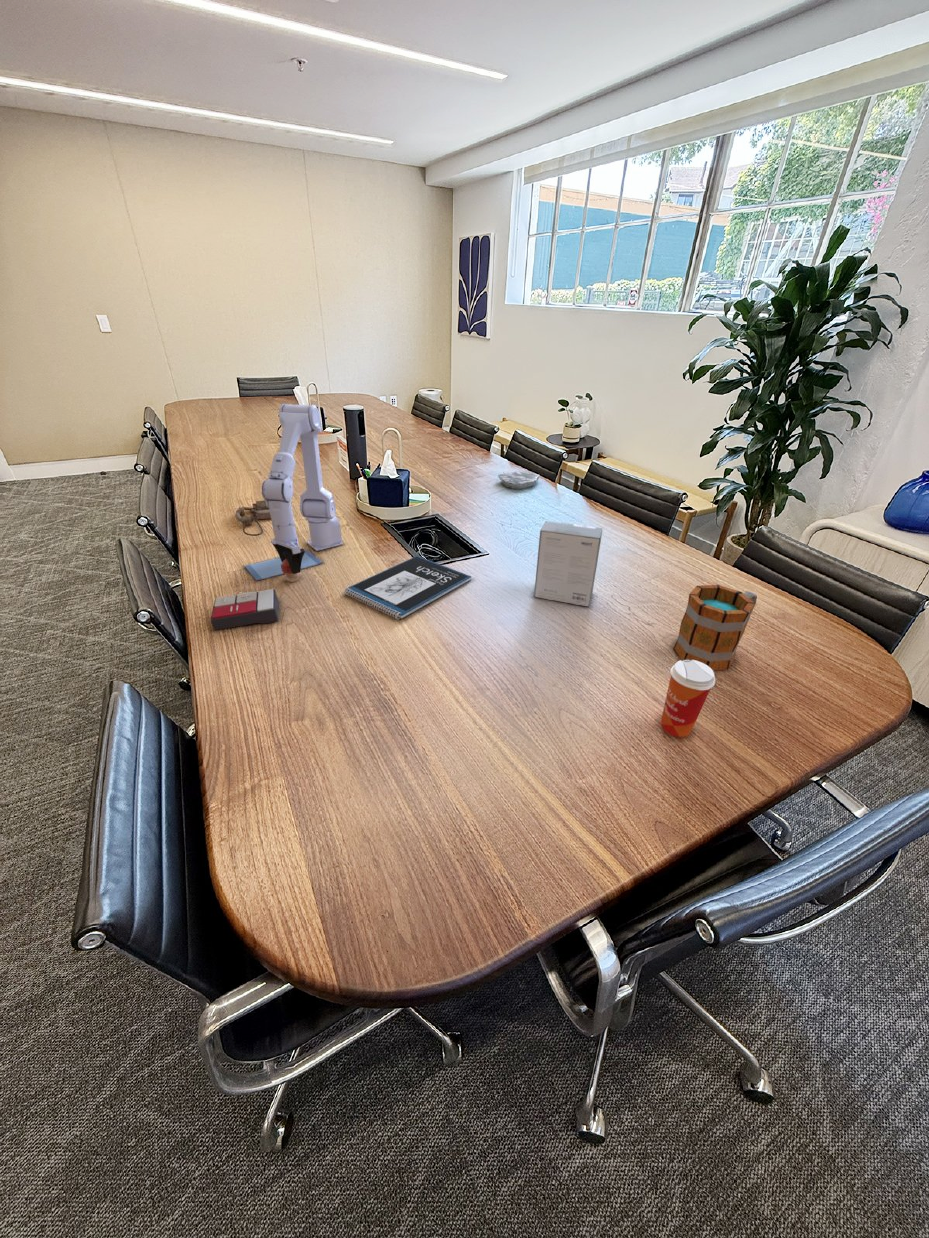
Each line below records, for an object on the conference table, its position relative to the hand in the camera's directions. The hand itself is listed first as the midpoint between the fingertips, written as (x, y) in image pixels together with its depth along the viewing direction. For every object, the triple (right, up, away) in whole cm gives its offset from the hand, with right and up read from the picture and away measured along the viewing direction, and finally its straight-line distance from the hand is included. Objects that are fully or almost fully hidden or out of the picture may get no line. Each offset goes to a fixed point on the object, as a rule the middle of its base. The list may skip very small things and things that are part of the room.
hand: (291, 567), depth 146 cm
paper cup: (+91, -36, -47) cm, 108 cm away
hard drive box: (+77, -8, -3) cm, 78 cm away
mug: (+109, -22, -24) cm, 113 cm away
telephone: (-25, +21, +39) cm, 51 cm away
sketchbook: (+34, -6, -1) cm, 34 cm away
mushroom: (0, -3, +2) cm, 4 cm away
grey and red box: (-6, -14, -15) cm, 21 cm away
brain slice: (+73, +46, +82) cm, 119 cm away
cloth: (-5, +2, +9) cm, 11 cm away
